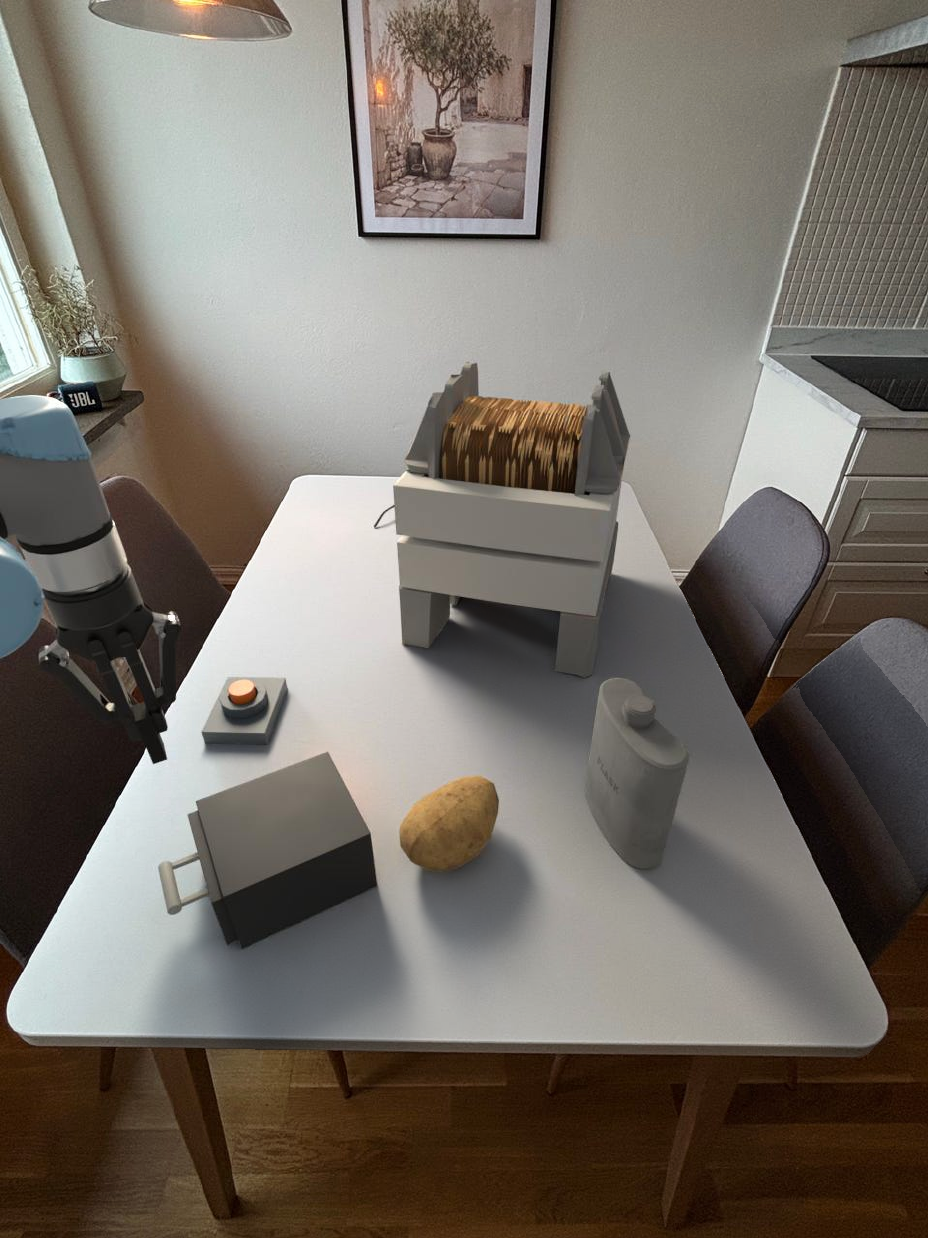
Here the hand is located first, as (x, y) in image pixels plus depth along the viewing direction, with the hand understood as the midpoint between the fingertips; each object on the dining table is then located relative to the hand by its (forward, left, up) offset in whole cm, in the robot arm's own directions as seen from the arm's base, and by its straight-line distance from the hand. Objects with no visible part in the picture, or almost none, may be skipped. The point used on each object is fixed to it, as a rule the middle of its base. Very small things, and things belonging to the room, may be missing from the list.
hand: (158, 753), depth 76 cm
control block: (+12, +18, -15) cm, 26 cm away
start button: (+12, +18, -11) cm, 24 cm away
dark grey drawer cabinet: (+10, -11, -15) cm, 21 cm away
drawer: (+6, -11, -14) cm, 18 cm away
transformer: (+62, +23, -15) cm, 68 cm away
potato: (+28, -17, -15) cm, 36 cm away
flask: (+48, -24, -15) cm, 55 cm away
